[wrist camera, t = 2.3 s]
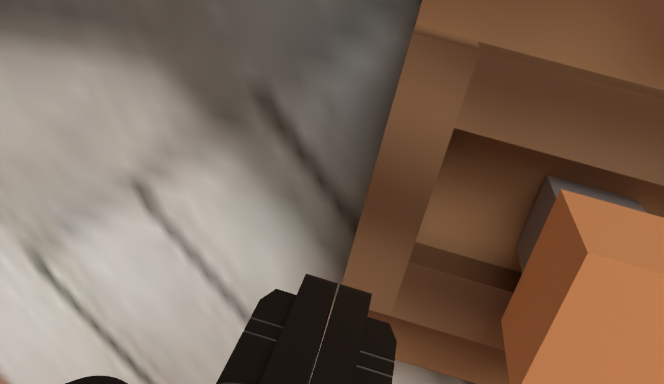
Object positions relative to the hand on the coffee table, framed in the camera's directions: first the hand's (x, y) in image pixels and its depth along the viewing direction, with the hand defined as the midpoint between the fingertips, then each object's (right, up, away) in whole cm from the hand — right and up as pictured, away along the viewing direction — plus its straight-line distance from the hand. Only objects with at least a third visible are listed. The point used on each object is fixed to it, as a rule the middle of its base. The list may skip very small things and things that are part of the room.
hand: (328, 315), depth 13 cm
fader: (+8, +2, +7) cm, 11 cm away
